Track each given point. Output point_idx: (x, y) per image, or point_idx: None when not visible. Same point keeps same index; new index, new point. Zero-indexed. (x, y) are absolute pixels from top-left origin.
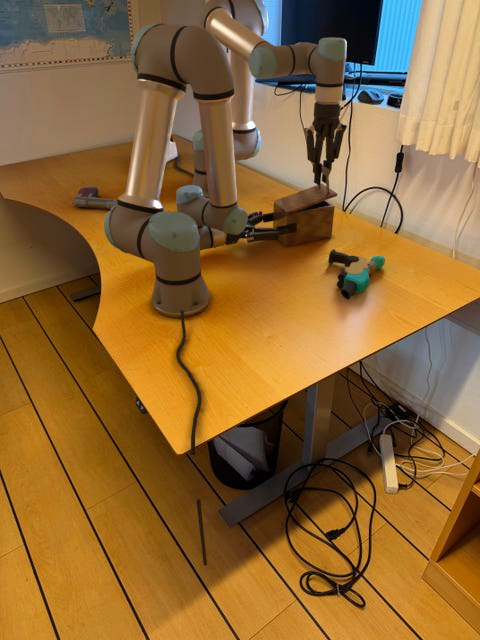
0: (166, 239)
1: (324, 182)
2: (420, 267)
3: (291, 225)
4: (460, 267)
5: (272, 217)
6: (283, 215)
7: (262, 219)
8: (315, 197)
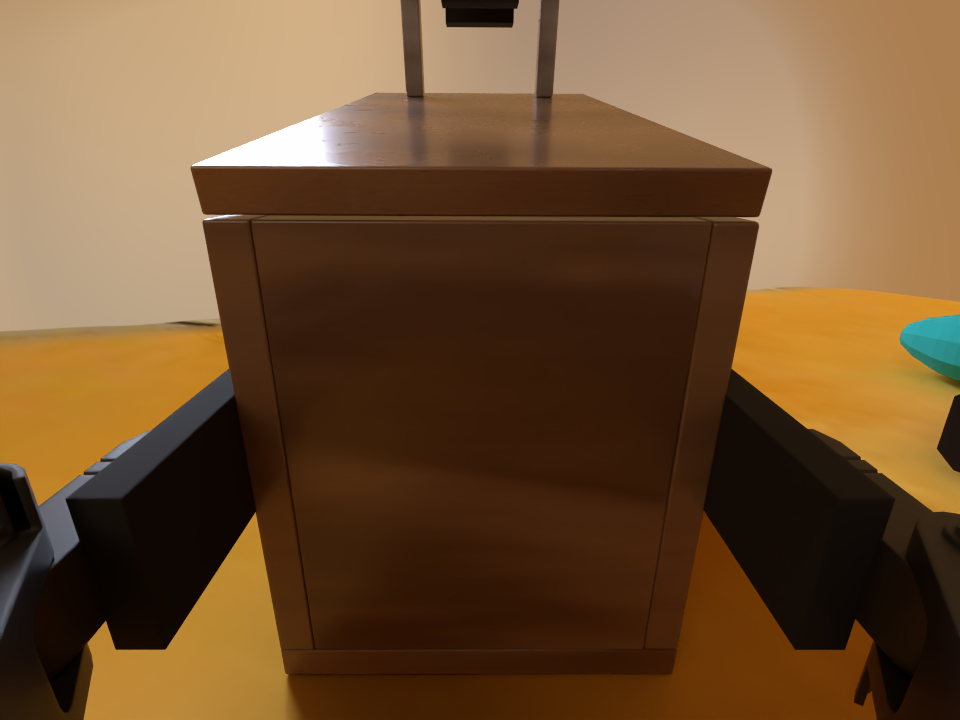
0: None
1: (489, 19)
2: (877, 324)
3: (734, 376)
4: (844, 294)
5: (240, 465)
6: (618, 286)
7: (94, 615)
8: (547, 105)
